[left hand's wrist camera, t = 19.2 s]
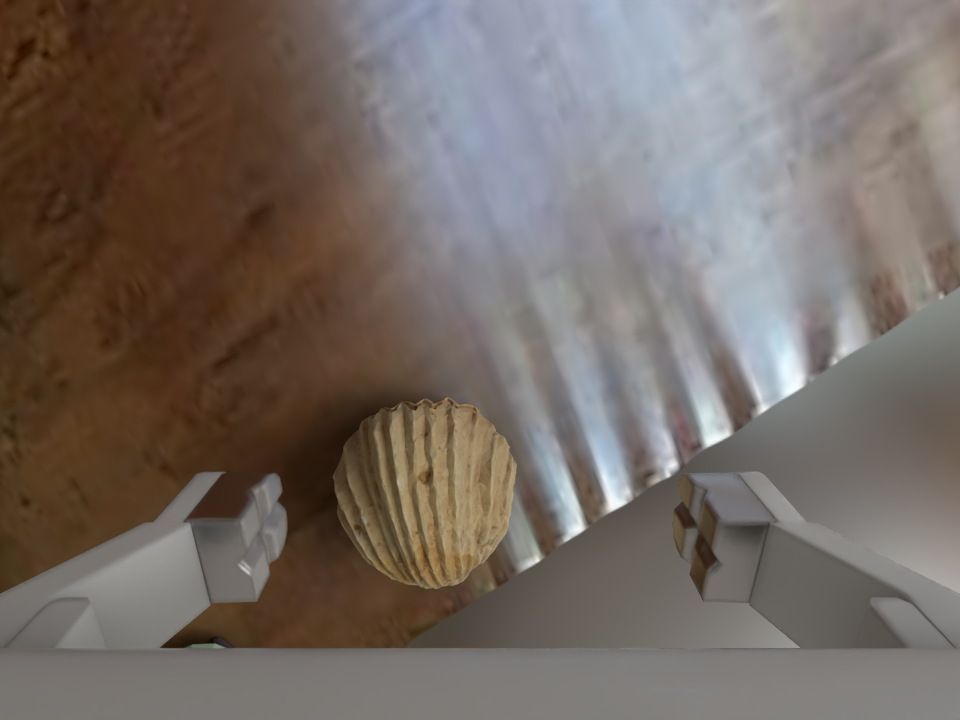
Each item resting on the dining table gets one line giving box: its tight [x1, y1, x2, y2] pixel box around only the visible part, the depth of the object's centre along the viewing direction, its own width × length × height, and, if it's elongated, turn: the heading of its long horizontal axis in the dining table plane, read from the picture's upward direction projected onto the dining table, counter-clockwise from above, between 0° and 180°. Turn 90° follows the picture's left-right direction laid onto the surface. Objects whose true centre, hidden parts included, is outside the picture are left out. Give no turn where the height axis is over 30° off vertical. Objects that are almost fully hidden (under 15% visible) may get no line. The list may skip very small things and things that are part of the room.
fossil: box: [333, 397, 517, 589], centre depth 43 cm, size 15×17×15 cm
